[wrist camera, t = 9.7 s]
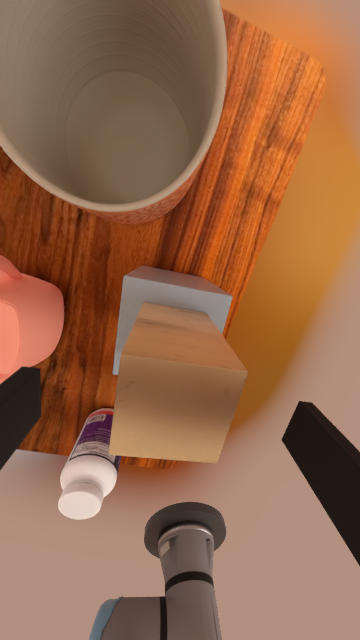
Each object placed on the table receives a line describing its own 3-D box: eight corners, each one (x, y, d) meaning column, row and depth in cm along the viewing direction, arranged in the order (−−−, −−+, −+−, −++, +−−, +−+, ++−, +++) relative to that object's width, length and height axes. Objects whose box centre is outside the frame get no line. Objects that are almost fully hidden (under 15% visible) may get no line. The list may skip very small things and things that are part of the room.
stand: (190, 333, 36) (207, 386, 22) (133, 324, 35) (112, 374, 20) (203, 277, 33) (233, 296, 19) (141, 265, 32) (123, 275, 18)
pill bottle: (113, 442, 42) (89, 533, 29) (79, 425, 40) (35, 513, 27) (136, 417, 41) (122, 500, 27) (102, 398, 39) (67, 476, 25)
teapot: (-4, 239, 29) (-112, 231, 18) (81, 264, 31) (32, 271, 20) (-10, 359, 35) (-94, 410, 23) (63, 374, 37) (17, 429, 25)
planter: (39, 156, 27) (-109, 42, 12) (129, 40, 24) (75, -287, 9) (135, 256, 31) (110, 259, 17) (220, 169, 28) (277, 84, 14)
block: (193, 368, 21) (217, 463, 11) (134, 359, 20) (108, 455, 11) (207, 312, 19) (248, 372, 10) (143, 301, 18) (120, 354, 9)
